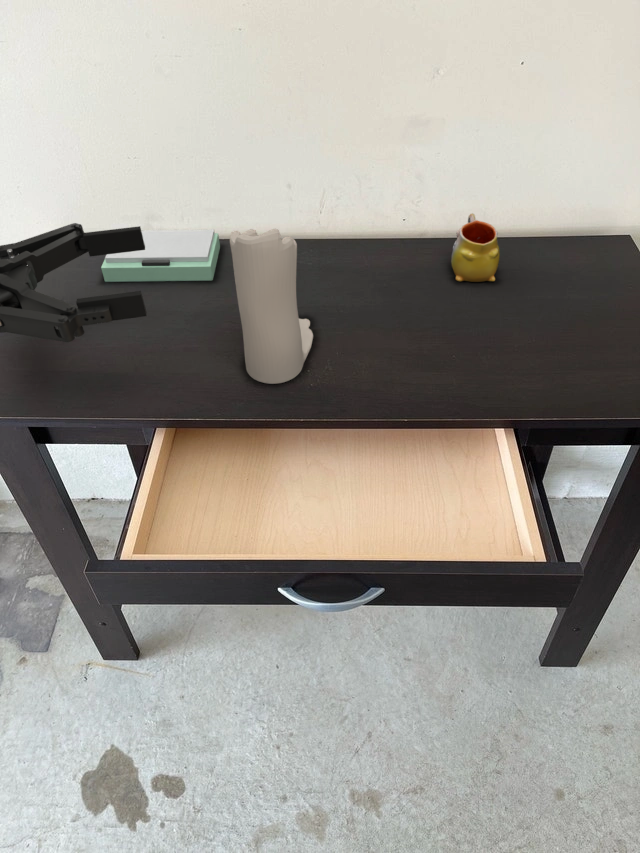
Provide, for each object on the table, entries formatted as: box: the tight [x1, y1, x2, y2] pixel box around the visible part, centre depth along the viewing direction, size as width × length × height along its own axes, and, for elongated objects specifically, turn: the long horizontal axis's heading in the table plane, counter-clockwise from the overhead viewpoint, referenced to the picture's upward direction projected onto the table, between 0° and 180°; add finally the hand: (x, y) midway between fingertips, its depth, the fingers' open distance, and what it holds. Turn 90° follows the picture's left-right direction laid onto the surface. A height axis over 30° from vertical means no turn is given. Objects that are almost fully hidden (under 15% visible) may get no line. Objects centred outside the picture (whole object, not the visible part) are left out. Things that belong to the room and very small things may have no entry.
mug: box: [450, 212, 501, 283], centre depth 96 cm, size 12×7×7 cm, turn 174°
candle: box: [229, 228, 314, 385], centre depth 78 cm, size 7×14×20 cm, turn 165°
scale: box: [100, 228, 221, 283], centre depth 99 cm, size 16×10×3 cm, turn 89°
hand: (143, 268), depth 74 cm, fingers open, 13 cm apart
